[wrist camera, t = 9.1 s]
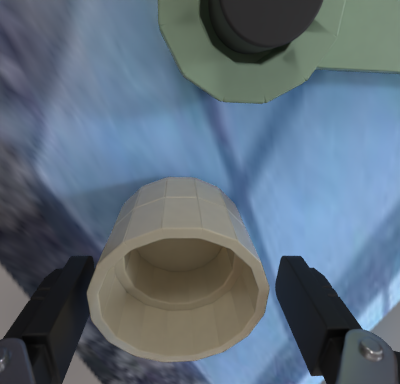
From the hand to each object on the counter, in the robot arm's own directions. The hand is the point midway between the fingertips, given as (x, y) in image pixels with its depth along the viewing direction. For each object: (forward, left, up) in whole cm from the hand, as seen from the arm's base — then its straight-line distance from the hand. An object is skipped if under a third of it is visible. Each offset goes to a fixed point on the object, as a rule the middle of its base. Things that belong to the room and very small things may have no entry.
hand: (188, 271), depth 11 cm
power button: (+2, +10, 0) cm, 10 cm away
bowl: (0, 0, -3) cm, 3 cm away
